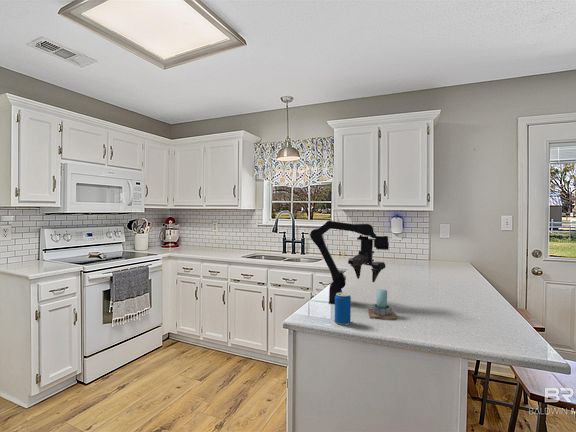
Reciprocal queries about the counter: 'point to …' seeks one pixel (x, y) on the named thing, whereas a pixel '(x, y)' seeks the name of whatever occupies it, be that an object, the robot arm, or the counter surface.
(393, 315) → the base board
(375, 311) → the collar
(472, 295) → the counter surface
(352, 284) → the counter surface
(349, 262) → the robot arm
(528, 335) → the counter surface
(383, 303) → the peg
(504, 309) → the counter surface
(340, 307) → the beverage can
